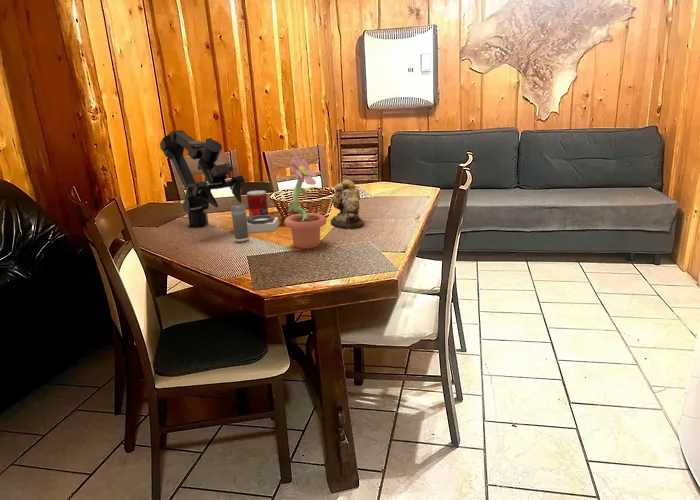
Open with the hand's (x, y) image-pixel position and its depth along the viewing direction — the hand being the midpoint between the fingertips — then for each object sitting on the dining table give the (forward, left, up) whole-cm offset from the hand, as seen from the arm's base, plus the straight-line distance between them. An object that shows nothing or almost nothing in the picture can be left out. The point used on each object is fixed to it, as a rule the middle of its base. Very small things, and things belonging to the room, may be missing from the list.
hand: (229, 204), depth 177 cm
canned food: (+3, +29, -12) cm, 31 cm away
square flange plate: (+7, +12, -12) cm, 18 cm away
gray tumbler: (+4, -4, -12) cm, 14 cm away
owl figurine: (+40, +15, -13) cm, 45 cm away
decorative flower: (+28, -13, -12) cm, 34 cm away
